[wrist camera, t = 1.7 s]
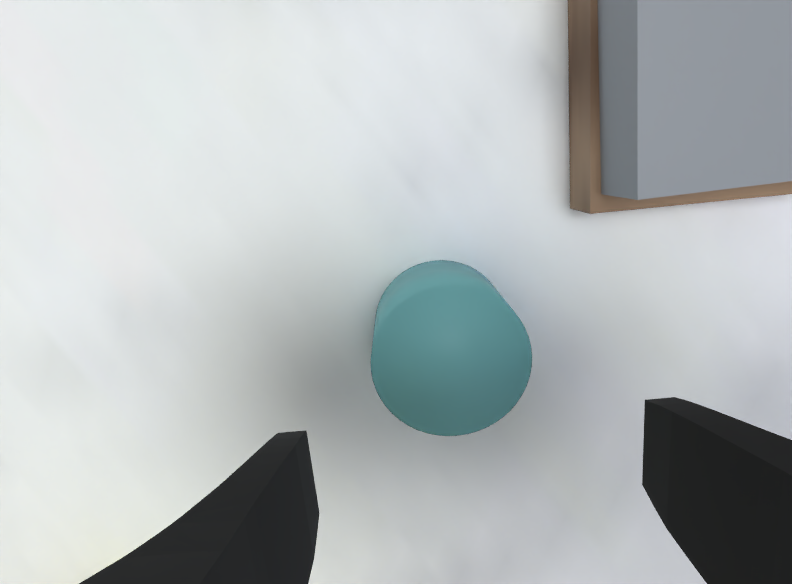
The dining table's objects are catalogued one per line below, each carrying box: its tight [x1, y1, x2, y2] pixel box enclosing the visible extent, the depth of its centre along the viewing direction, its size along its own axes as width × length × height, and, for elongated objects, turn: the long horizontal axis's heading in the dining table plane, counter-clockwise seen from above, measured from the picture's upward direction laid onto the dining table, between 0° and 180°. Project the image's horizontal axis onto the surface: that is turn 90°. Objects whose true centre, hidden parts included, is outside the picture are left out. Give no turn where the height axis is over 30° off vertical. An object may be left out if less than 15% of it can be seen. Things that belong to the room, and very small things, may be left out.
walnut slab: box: [568, 0, 792, 214], centre depth 17 cm, size 8×8×2 cm
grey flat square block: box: [598, 0, 792, 200], centre depth 14 cm, size 7×7×2 cm
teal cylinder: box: [371, 260, 532, 436], centre depth 17 cm, size 5×5×4 cm
